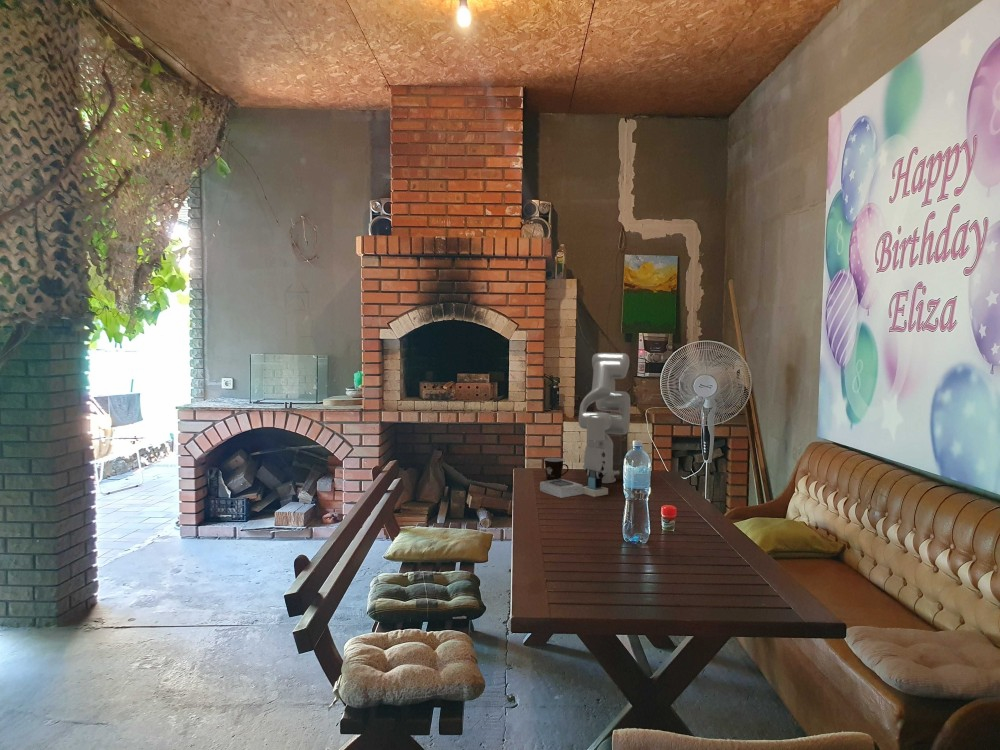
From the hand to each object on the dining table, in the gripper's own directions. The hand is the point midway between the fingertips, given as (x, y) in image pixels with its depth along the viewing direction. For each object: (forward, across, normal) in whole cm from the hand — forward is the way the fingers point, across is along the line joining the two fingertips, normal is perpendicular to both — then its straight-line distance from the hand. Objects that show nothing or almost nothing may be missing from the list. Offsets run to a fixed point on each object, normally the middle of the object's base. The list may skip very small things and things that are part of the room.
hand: (594, 485), depth 272 cm
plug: (+3, 0, 0) cm, 3 cm away
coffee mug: (+3, +26, 0) cm, 26 cm away
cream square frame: (+3, 0, 0) cm, 3 cm away
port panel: (+3, +9, +11) cm, 15 cm away
